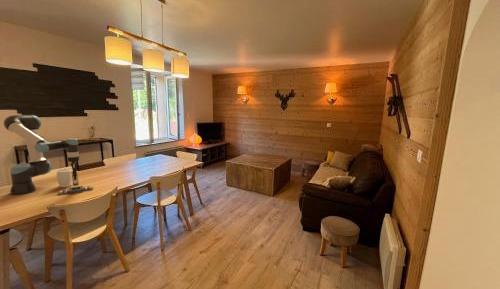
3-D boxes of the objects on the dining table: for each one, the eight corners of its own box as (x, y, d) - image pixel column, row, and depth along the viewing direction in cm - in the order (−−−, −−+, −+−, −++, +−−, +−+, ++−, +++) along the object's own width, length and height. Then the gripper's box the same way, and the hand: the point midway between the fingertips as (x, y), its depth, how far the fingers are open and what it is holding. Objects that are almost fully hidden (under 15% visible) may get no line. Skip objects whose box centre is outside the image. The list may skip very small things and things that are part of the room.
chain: (58, 192, 186) (58, 189, 185) (92, 187, 200) (92, 184, 200) (58, 195, 178) (57, 192, 178) (92, 190, 193) (92, 187, 192)
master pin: (72, 184, 188) (71, 171, 187) (79, 183, 191) (78, 170, 190) (72, 186, 185) (71, 172, 183) (79, 185, 188) (78, 172, 186)
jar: (54, 188, 193) (53, 172, 191) (61, 184, 203) (60, 168, 200) (68, 187, 196) (67, 171, 194) (74, 183, 206) (73, 168, 203)
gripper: (67, 155, 188) (70, 180, 192) (67, 159, 175) (69, 186, 179) (78, 154, 193) (80, 179, 197) (79, 158, 180) (81, 184, 184)
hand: (75, 182), depth 188 cm, fingers closed on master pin, 4 cm apart
